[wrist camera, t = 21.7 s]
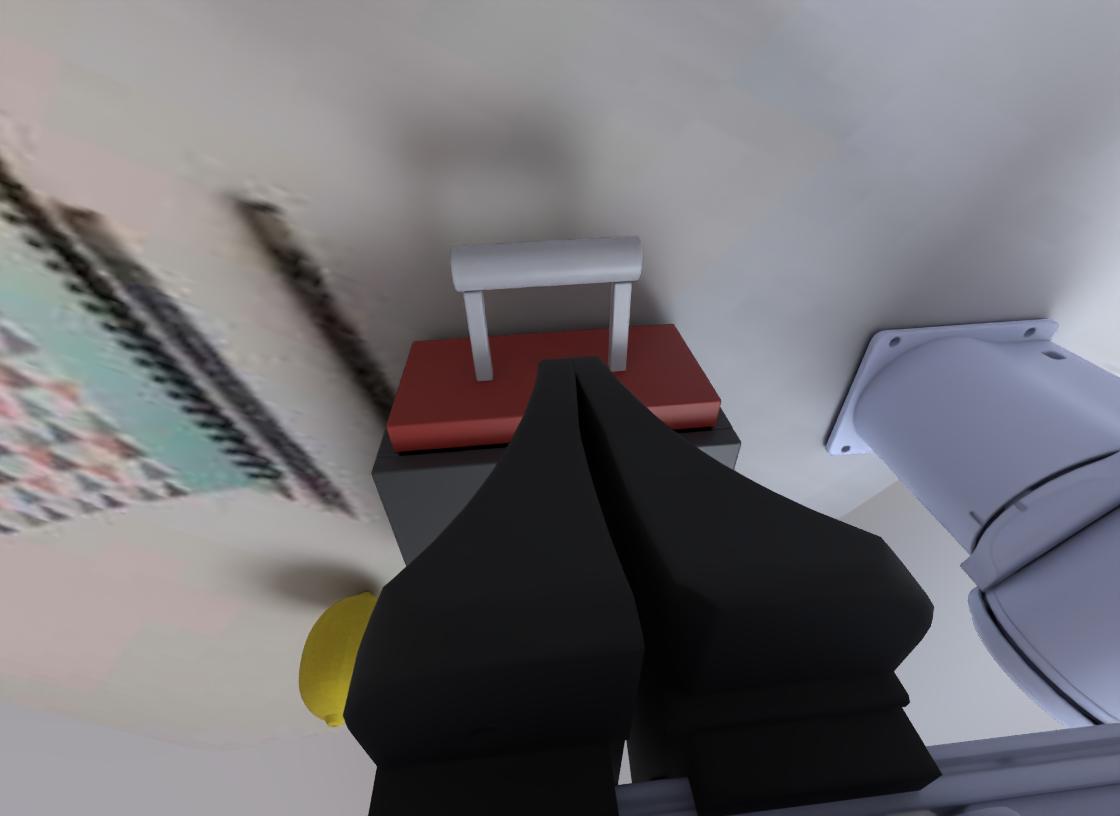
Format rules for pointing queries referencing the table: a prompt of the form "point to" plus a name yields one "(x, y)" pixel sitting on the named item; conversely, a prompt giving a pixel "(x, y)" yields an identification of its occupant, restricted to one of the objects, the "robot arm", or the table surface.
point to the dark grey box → (474, 481)
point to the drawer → (539, 350)
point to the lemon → (333, 656)
